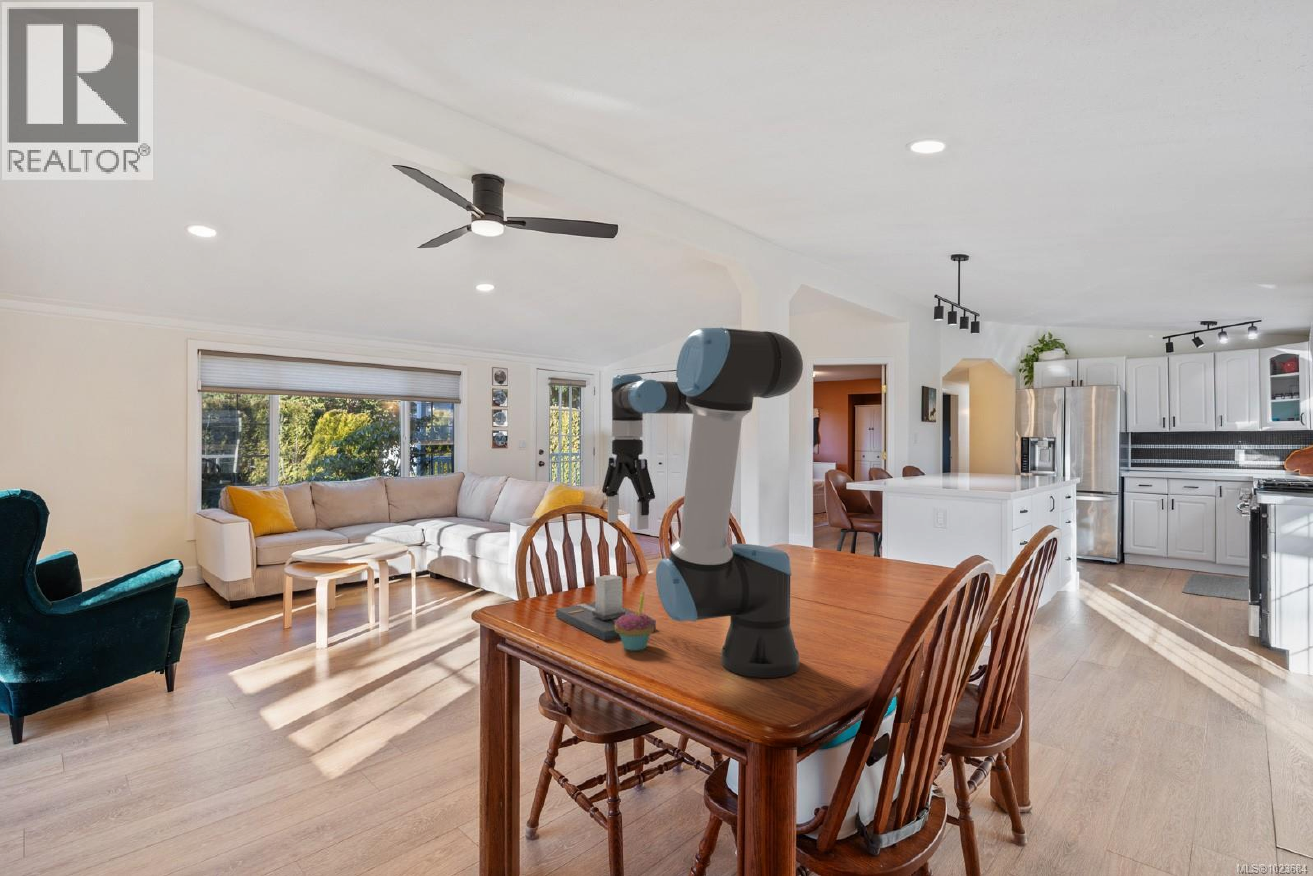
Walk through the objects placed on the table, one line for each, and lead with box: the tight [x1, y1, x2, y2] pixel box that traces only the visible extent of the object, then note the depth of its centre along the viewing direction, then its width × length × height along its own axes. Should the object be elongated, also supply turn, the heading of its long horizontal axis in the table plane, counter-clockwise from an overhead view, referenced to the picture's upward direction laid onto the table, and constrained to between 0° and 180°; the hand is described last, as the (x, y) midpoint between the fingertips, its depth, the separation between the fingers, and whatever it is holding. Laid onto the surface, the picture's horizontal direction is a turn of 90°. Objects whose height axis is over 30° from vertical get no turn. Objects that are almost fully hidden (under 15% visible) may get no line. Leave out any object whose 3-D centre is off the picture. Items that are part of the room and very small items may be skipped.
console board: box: [555, 601, 657, 642], centre depth 152 cm, size 22×14×2 cm, turn 37°
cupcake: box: [615, 591, 655, 651], centre depth 135 cm, size 9×8×12 cm
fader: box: [592, 574, 625, 620], centre depth 151 cm, size 5×6×9 cm
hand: (627, 525), depth 156 cm, fingers open, 13 cm apart
